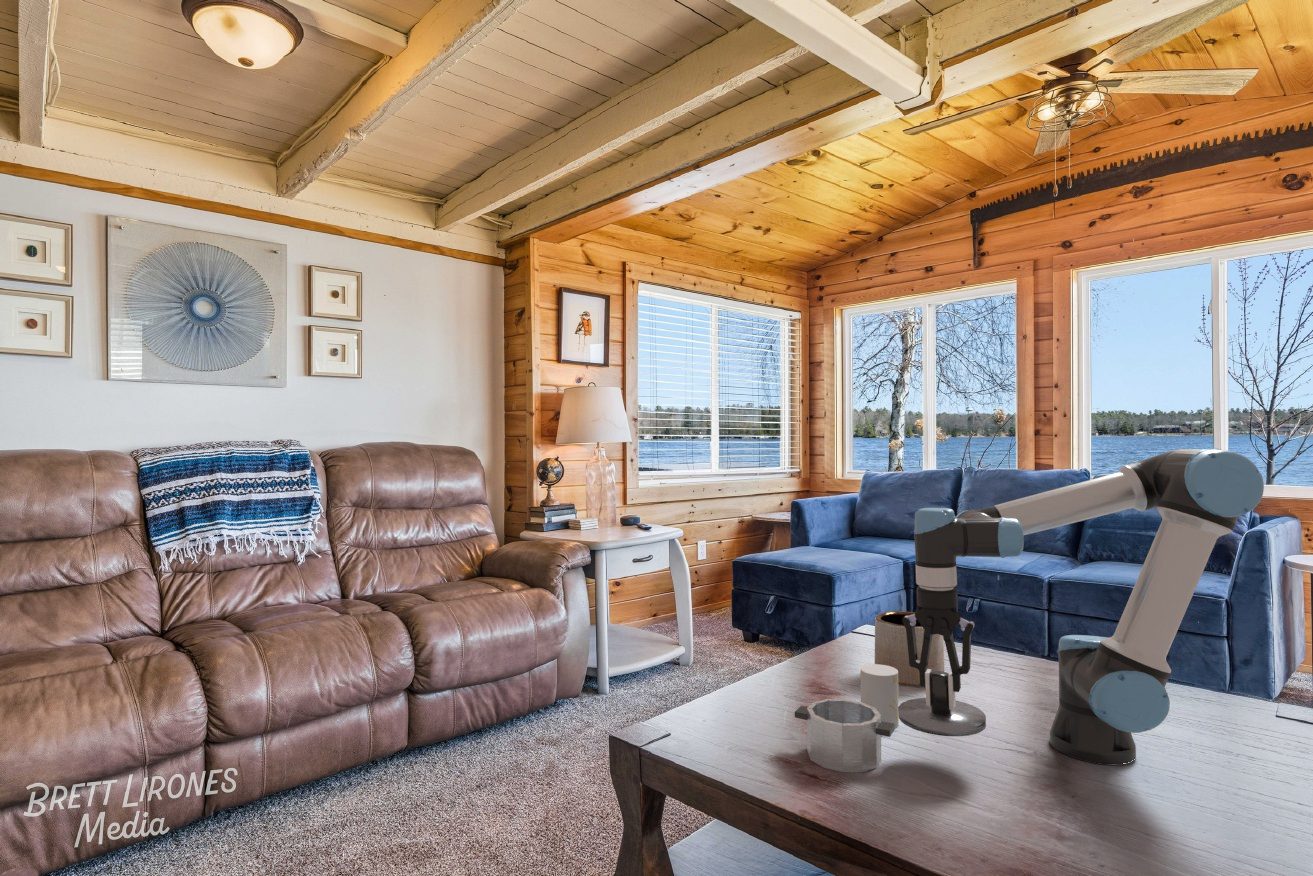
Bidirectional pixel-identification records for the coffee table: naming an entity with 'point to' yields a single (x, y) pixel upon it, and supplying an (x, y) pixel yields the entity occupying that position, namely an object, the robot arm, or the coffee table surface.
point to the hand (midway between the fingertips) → (940, 705)
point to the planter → (904, 647)
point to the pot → (844, 734)
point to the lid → (941, 712)
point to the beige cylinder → (881, 690)
